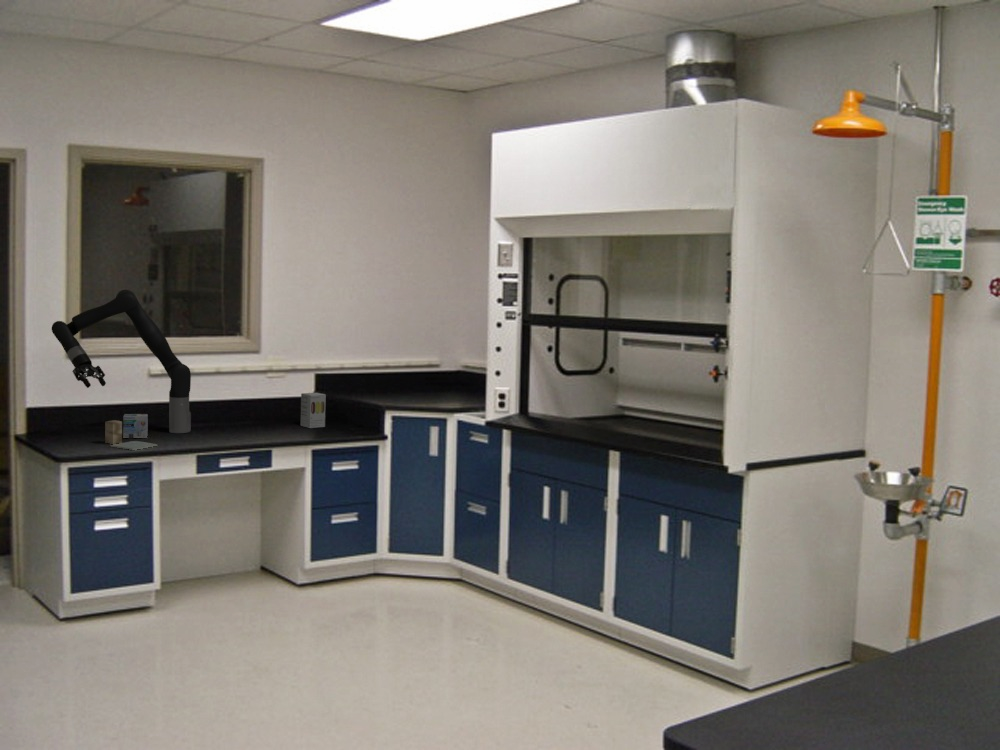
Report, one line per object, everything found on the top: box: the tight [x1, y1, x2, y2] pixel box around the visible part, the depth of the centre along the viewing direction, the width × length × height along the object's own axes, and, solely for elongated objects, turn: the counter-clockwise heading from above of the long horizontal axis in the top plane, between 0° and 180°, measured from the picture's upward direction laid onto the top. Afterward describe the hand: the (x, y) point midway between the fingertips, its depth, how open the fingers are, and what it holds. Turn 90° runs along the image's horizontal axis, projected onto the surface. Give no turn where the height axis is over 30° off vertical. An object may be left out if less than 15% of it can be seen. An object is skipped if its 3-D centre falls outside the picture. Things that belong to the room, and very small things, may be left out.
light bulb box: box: [122, 413, 149, 439], centre depth 499 cm, size 11×7×11 cm, turn 105°
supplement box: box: [300, 392, 327, 429], centre depth 549 cm, size 10×9×17 cm
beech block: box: [104, 419, 123, 445], centre depth 484 cm, size 5×5×10 cm
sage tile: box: [109, 440, 158, 451], centre depth 478 cm, size 14×14×1 cm
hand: (96, 385), depth 486 cm, fingers open, 8 cm apart
